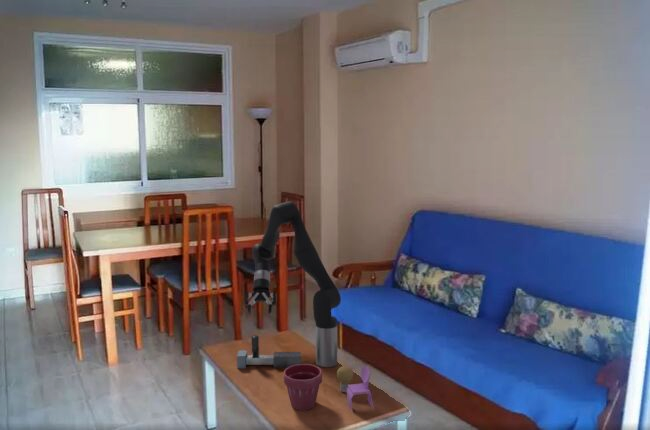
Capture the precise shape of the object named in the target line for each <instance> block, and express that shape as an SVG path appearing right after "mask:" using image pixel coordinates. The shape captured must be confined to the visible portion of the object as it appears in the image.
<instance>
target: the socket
mask: <svg viewBox="0 0 650 430" xmlns="http://www.w3.org/2000/svg"><path fill="white" fill-rule="evenodd" d="M246 355H248V350H244V349H243V350H241V349H240V350H238V352H237V355H236V362H237V363H236V366H237V367H236V369H246V368H247V365H246Z"/></svg>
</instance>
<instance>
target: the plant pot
mask: <svg viewBox="0 0 650 430" xmlns="http://www.w3.org/2000/svg"><path fill="white" fill-rule="evenodd" d="M322 382H323V372H322V369H321V368H320V366H318V365H314V364H310V363H301V364H297V365H293V366H290V367H288V368H285V369H284V371H283V383H284V385H285V387H286V388H287V394H288V398H289V402H290V406H291V407H292V408H294V409H296V410H303V411H304V410H305V411H306V410H309V409H313V408H314V407H315V406H316V403H317V399H318V395H319V388H320V385H321V384H322Z"/></svg>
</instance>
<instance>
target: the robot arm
mask: <svg viewBox="0 0 650 430" xmlns="http://www.w3.org/2000/svg"><path fill="white" fill-rule="evenodd" d="M286 224H291V226H292V228H293V229H292V230H293V232H294V243H293V254H294V255H295V258H296V260H297V262H298V264H299V267H301V268H302V270H303V271H305V272H306V273H307V275H309V276H310V277H312V278H313V280H315V282H316V284H317V285H318V287H319V289H320V290H318V291H316V292H315V293H314V294H313V300H312V307H313V319H314V321H315V364H316V366H317V367H323V368H331V367H335V366H338V319H337V317H335V316H334V315H333V316H332V309H335V308H337V307H338V306H339V305H341V301H342V298H341V293H340V292H339V290H338V287H337V286H336V285H335V282H333V280H332V278H331V277H330V275H329V274H328V272H327V269H326V268H325V265H324V263H323V262H322V259H321V257H320V255H319V254H318V251H317V250H316V247H315V244H314V243H313V242H312V240H311V238H310V235H309V233H308V231H307V229H306V227H305V224H304V221H303V219H302V216H301V213H300V211H299V208H298V207H297V205H296V204H295V202H294V201H291V200H288V201H285V202H282V203H278V204H275V205H273V207H272V208H271V211H270V214H269V218H268V222H267V227H266V229H265V230H266V231H265V233H264V234H263V236H262V239H261V241H260V243H255V244H254V246H253V247H252V256H253V260H254V265H255V267H254V276H253V286H252V287H253V288H252V292H249V291H245V296H244V306H247V312H248V314H249V315H252V310H253V309H252V308H253V307H252V306H253V305H254V304H256V303H265V302H266V304H267V305H268V312H267V313H268V315H271V313H273V307H275V306H277V293H276V291H273V292H270V290H271V289H270V285H271V275H270V274H271V263H270V262H269V261H271V260H272V259H273V258H274V256H275V250H276V249H275V248H276V245H277V243H278V242H279V240H280V235H281V234H280V231H279V228H280V227H281V226H282V225H286ZM270 296H271V298H272V299H273V300H272V301H271V299H270ZM251 297H252V298H251ZM249 298H251V299H250V300H249Z"/></svg>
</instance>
